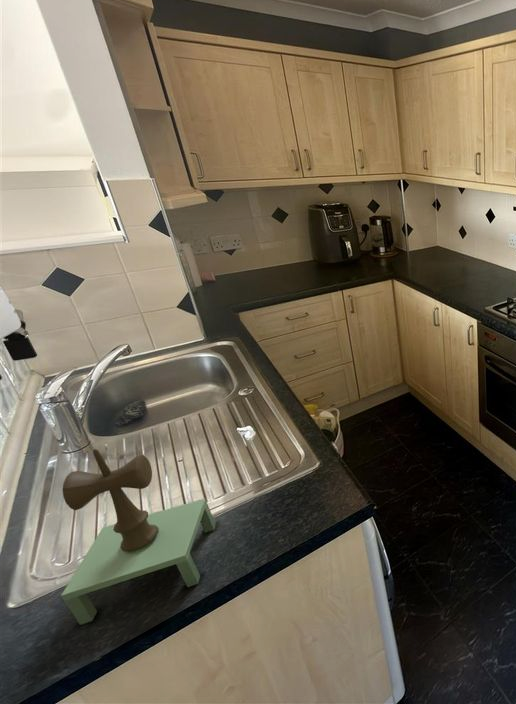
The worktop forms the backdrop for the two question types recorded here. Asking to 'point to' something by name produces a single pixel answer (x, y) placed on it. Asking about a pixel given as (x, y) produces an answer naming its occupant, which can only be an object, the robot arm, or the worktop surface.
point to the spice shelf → (138, 555)
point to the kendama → (115, 497)
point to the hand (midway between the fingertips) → (8, 369)
